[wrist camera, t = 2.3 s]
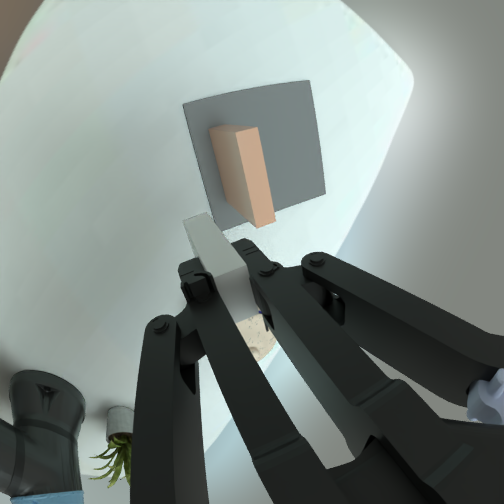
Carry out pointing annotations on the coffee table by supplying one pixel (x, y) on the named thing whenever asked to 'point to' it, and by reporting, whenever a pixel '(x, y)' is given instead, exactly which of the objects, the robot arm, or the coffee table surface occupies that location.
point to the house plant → (118, 442)
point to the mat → (262, 143)
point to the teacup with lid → (257, 336)
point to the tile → (243, 172)
